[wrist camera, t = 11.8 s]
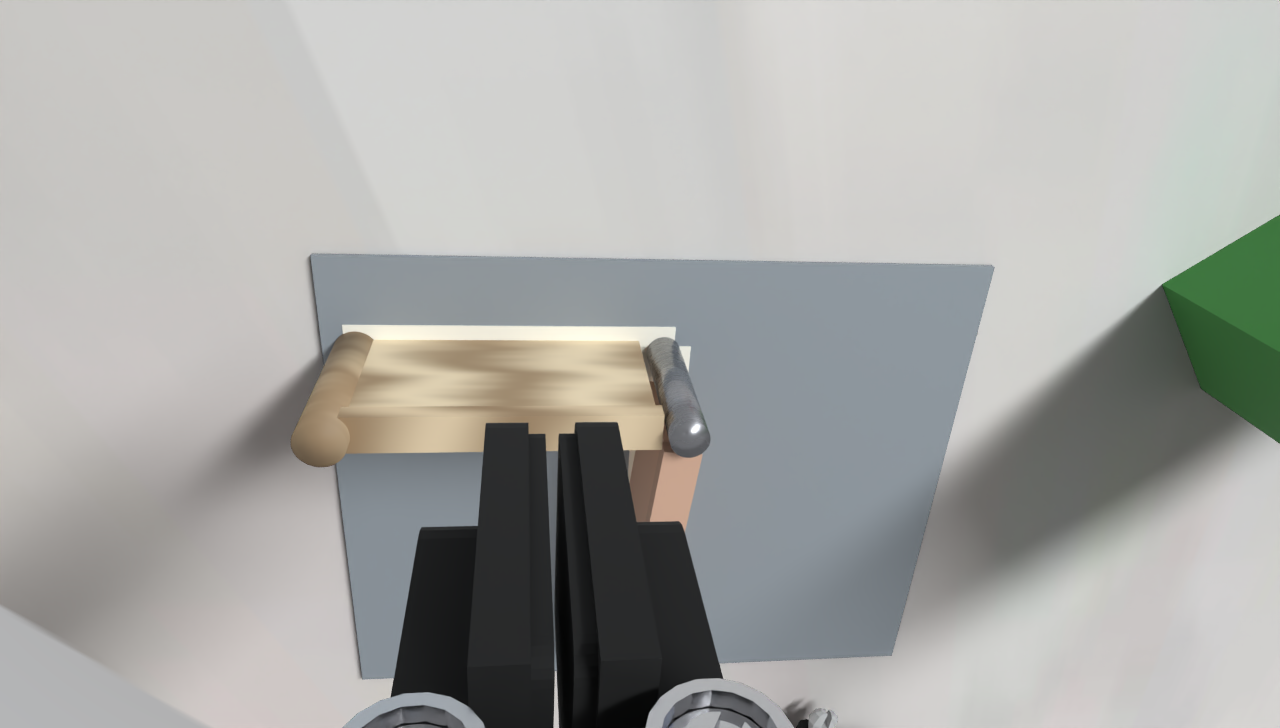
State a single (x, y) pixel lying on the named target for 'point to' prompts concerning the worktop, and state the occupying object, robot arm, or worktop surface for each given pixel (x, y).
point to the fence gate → (663, 482)
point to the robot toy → (819, 719)
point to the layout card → (733, 411)
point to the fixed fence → (493, 395)
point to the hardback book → (1235, 324)
